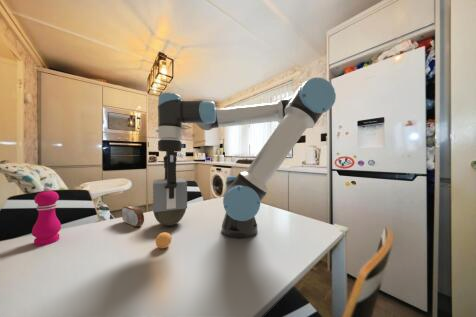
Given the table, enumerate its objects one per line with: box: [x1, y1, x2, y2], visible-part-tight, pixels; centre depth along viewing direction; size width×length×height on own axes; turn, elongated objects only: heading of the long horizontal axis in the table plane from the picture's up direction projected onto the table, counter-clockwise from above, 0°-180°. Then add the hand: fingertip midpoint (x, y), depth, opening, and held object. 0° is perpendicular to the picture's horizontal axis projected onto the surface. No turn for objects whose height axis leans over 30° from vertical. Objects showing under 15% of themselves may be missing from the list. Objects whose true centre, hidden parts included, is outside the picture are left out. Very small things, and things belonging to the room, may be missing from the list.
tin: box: [121, 204, 145, 228], centre depth 80 cm, size 15×3×8 cm, turn 58°
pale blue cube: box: [152, 178, 188, 213], centre depth 61 cm, size 10×10×9 cm
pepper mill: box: [31, 186, 62, 247], centre depth 64 cm, size 7×7×20 cm
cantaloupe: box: [153, 208, 187, 227], centre depth 81 cm, size 14×14×15 cm
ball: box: [155, 232, 172, 249], centre depth 60 cm, size 5×5×5 cm
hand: (169, 204), depth 61 cm, fingers closed on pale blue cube, 10 cm apart
